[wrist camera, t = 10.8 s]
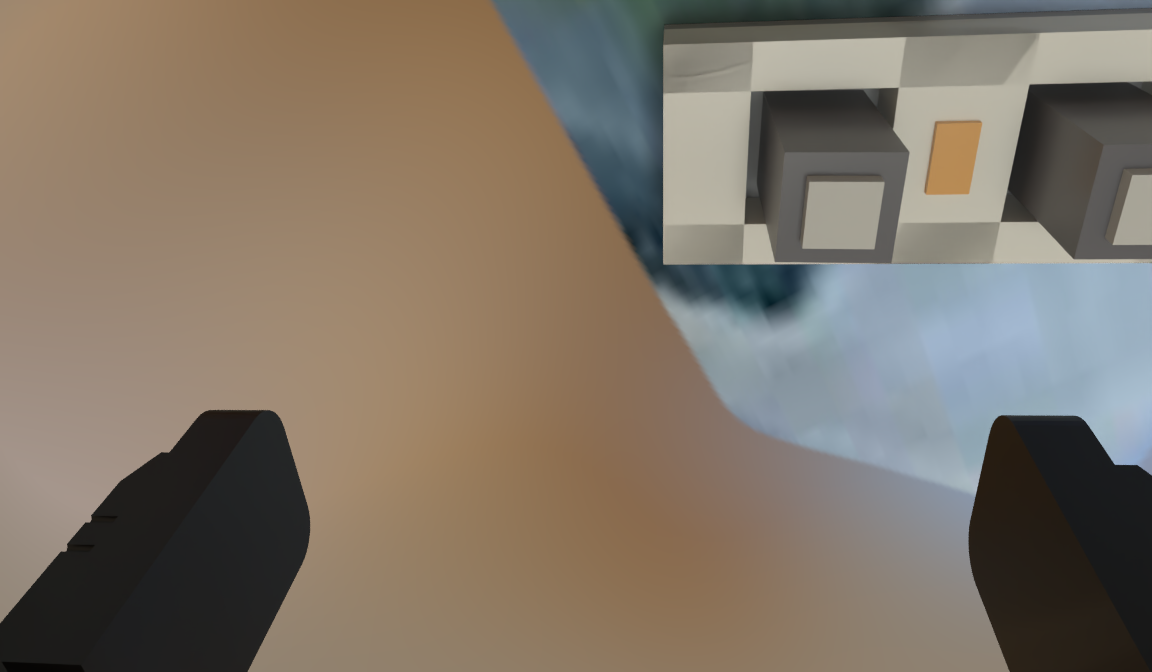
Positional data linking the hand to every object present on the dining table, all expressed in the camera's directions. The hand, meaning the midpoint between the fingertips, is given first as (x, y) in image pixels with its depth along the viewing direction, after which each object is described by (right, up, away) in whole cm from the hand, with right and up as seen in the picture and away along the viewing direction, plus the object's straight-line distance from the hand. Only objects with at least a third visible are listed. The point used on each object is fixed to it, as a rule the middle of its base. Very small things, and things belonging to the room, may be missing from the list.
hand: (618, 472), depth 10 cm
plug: (+9, +10, +26) cm, 30 cm away
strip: (+14, +10, +26) cm, 32 cm away
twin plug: (+19, +10, +25) cm, 33 cm away
